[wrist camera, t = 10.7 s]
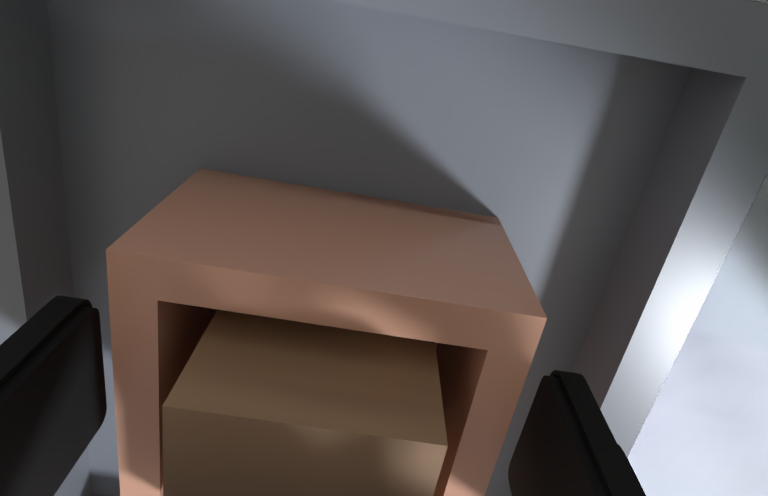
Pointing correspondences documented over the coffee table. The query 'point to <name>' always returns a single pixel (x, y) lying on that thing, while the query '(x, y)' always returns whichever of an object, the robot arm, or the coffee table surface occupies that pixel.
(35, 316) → the robot arm
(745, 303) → the coffee table surface
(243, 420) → the block
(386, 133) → the tray
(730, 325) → the coffee table surface
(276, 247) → the salmon pink square box
